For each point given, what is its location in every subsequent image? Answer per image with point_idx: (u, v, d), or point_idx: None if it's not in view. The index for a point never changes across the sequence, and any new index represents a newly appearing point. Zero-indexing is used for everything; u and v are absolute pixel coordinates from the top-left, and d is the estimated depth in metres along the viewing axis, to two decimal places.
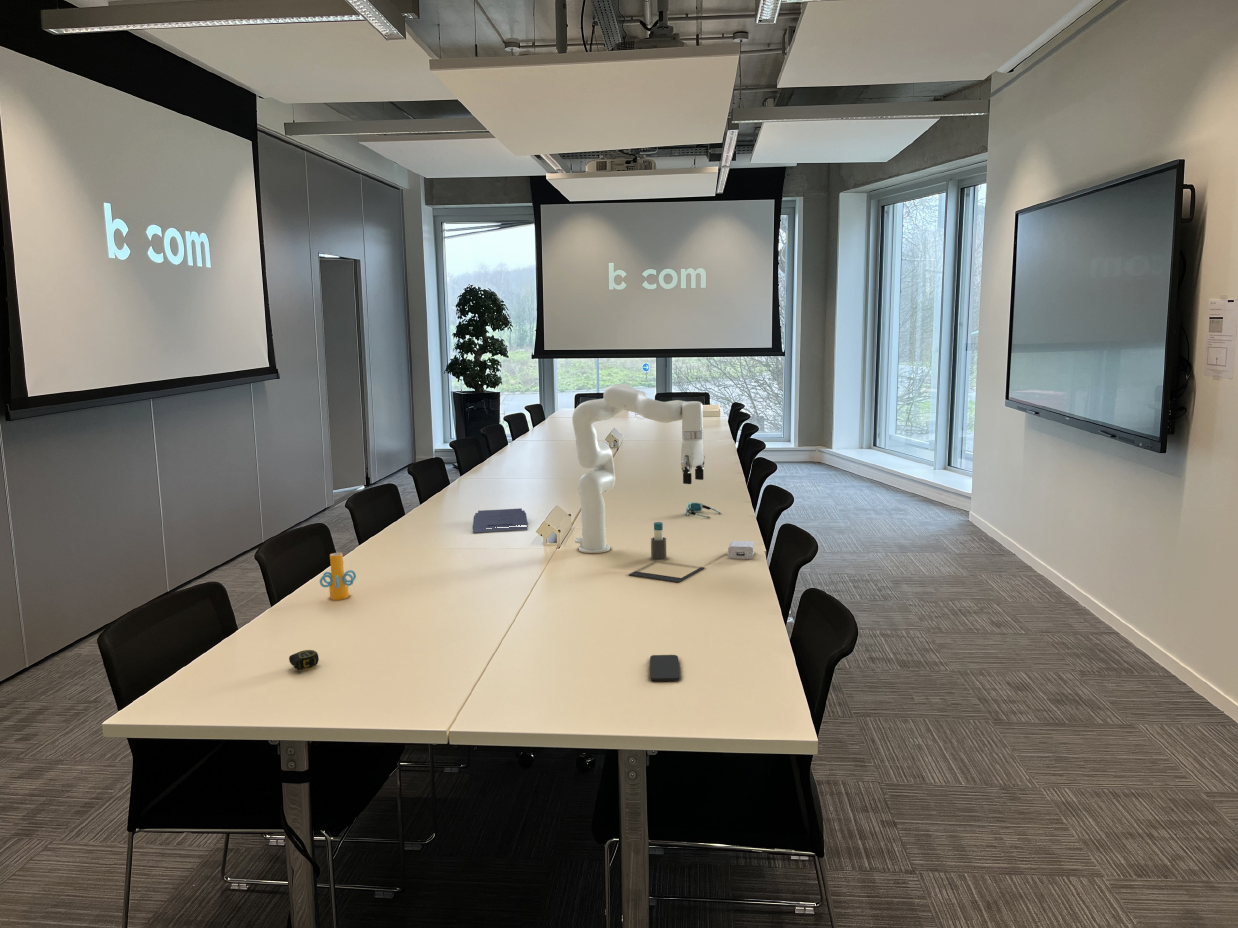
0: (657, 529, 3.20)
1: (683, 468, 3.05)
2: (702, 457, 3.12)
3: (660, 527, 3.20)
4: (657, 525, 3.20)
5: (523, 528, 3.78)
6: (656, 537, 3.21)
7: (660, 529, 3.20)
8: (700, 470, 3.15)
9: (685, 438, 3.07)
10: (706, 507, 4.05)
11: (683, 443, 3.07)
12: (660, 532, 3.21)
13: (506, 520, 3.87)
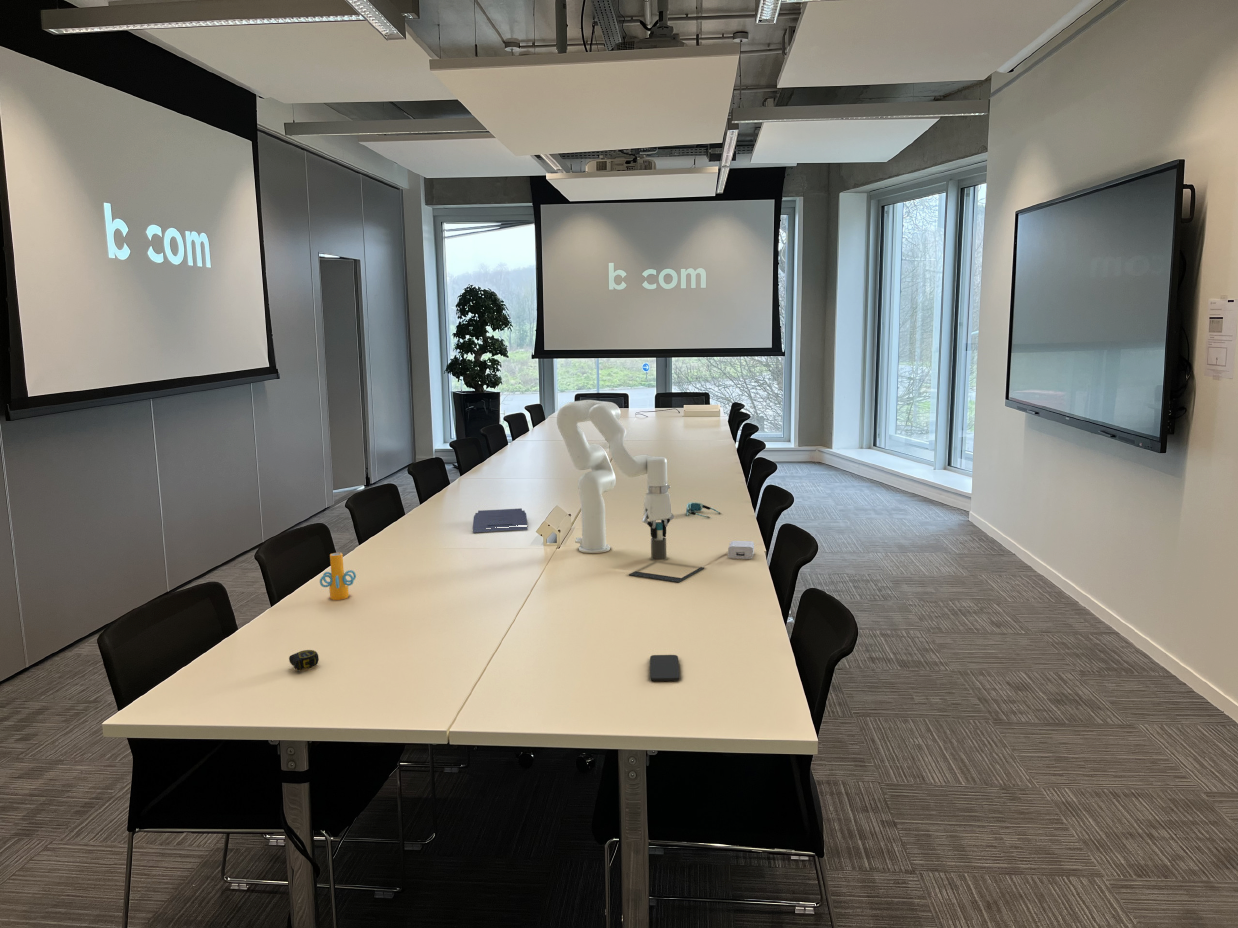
0: (657, 529, 3.20)
1: None
2: (668, 511, 3.20)
3: (660, 527, 3.20)
4: (657, 525, 3.20)
5: (523, 528, 3.78)
6: None
7: (660, 529, 3.20)
8: (663, 527, 3.22)
9: None
10: (706, 507, 4.05)
11: (645, 496, 3.19)
12: (660, 532, 3.21)
13: (507, 520, 3.87)
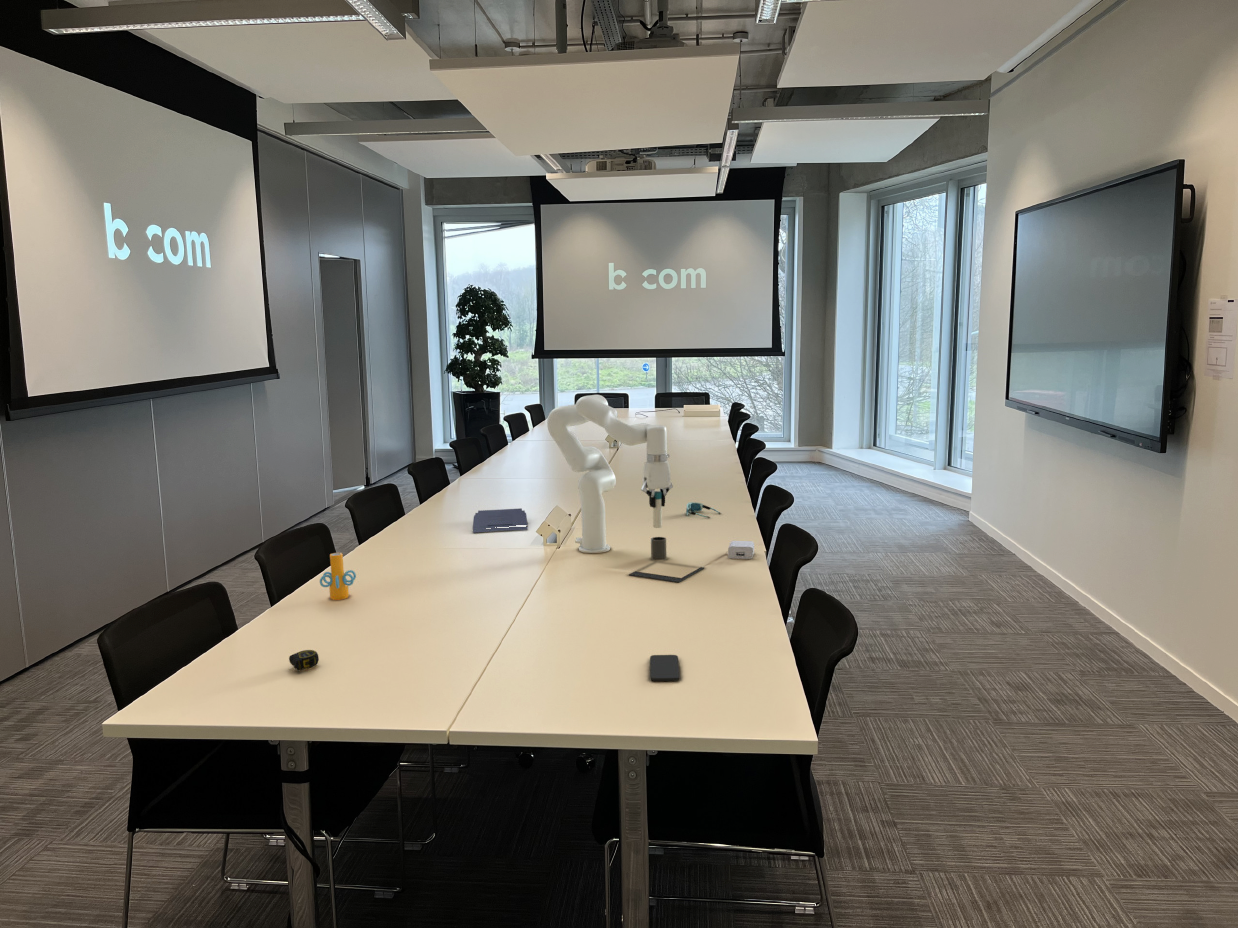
0: (656, 498, 3.18)
1: None
2: (667, 480, 3.19)
3: (659, 496, 3.18)
4: (656, 494, 3.18)
5: (523, 528, 3.78)
6: None
7: (659, 498, 3.19)
8: None
9: (647, 460, 3.17)
10: (706, 507, 4.05)
11: (644, 465, 3.17)
12: (659, 501, 3.19)
13: (507, 520, 3.87)
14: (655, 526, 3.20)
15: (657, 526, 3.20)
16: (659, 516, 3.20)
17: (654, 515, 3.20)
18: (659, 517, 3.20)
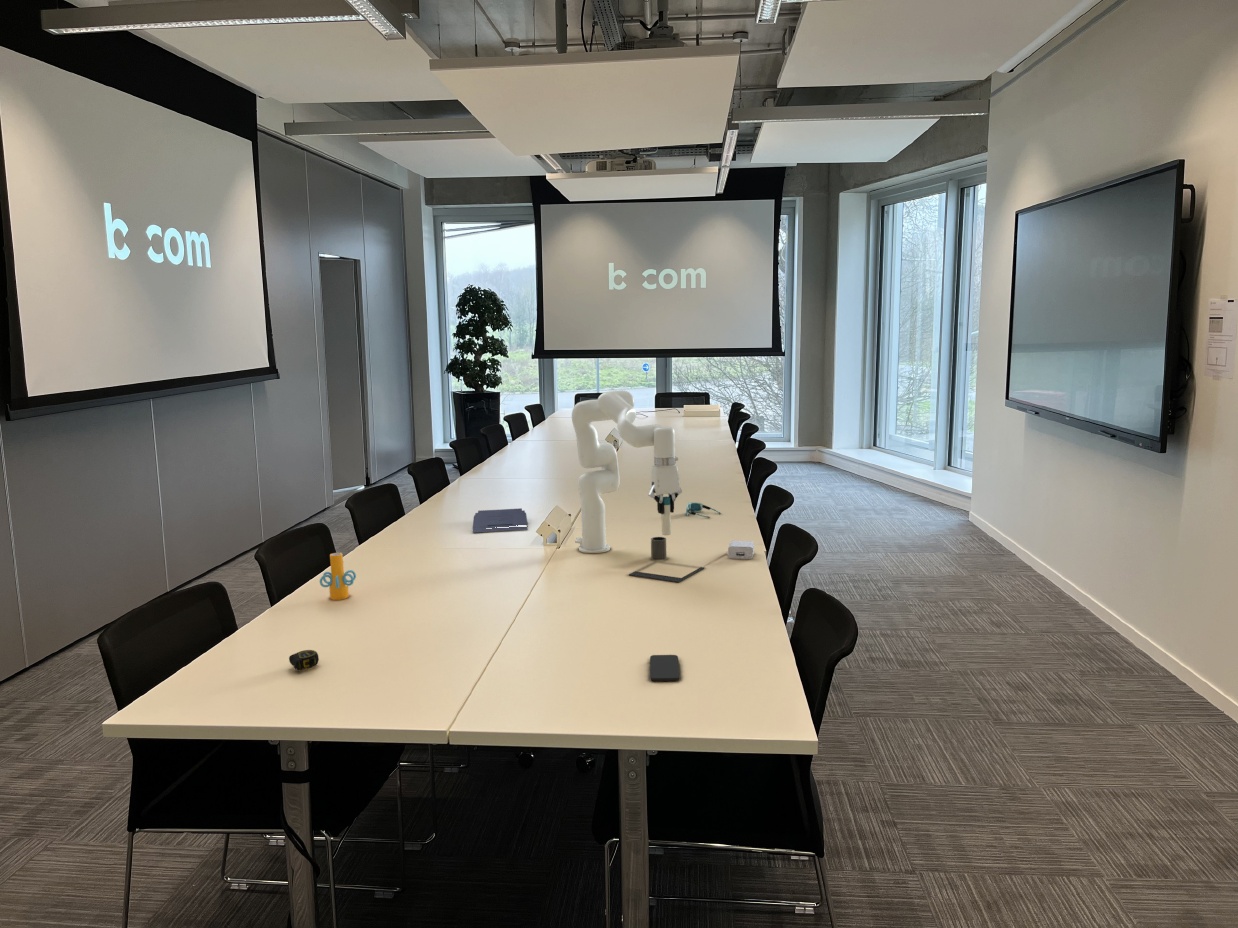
0: (664, 504, 3.01)
1: (653, 497, 3.00)
2: (676, 485, 3.01)
3: (667, 501, 3.01)
4: (664, 499, 3.01)
5: (523, 528, 3.78)
6: None
7: (668, 504, 3.01)
8: (670, 502, 3.03)
9: (654, 464, 3.00)
10: (706, 507, 4.05)
11: None
12: (668, 507, 3.01)
13: (507, 520, 3.87)
14: (664, 533, 3.03)
15: (666, 533, 3.03)
16: (668, 523, 3.02)
17: (663, 522, 3.02)
18: (668, 524, 3.02)
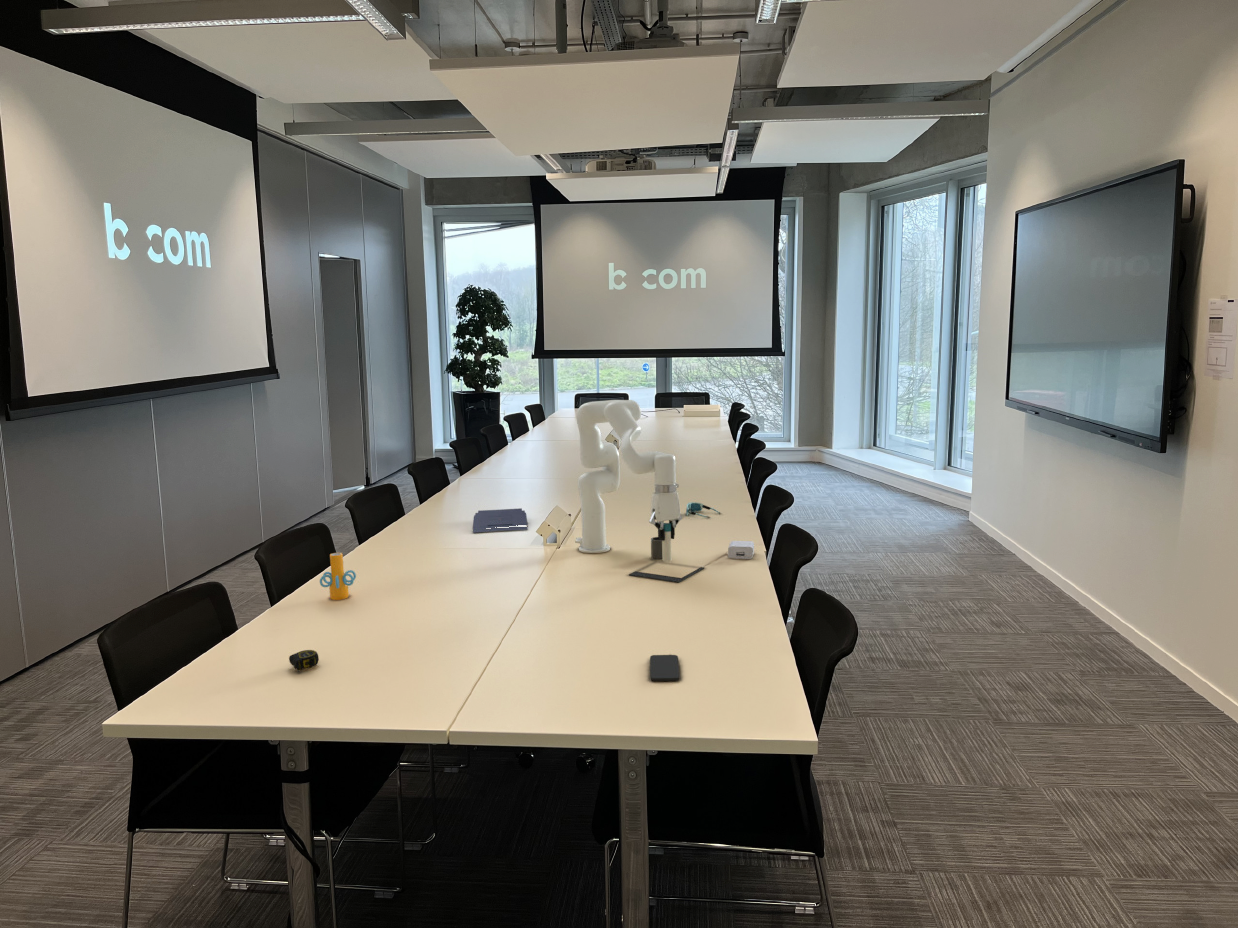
0: (665, 530, 3.02)
1: None
2: (677, 511, 3.02)
3: (668, 528, 3.02)
4: (665, 526, 3.02)
5: (523, 528, 3.78)
6: None
7: (668, 530, 3.02)
8: (671, 529, 3.04)
9: (655, 491, 3.01)
10: (706, 507, 4.05)
11: (652, 496, 3.01)
12: (668, 534, 3.02)
13: (507, 520, 3.87)
14: (664, 560, 3.04)
15: (667, 560, 3.04)
16: (669, 549, 3.03)
17: (663, 548, 3.04)
18: (669, 550, 3.03)
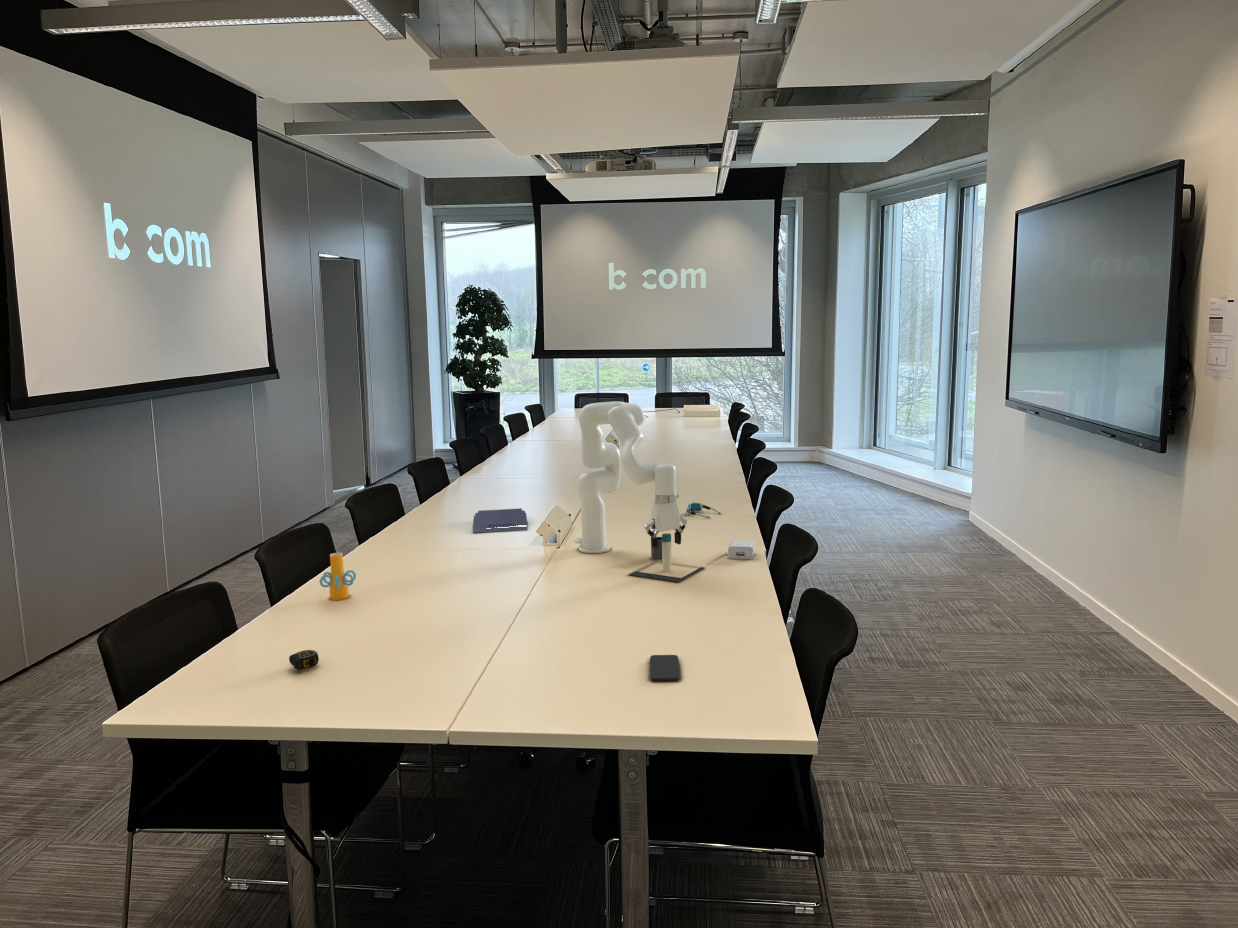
0: (665, 541, 3.03)
1: (647, 531, 3.00)
2: (677, 521, 3.03)
3: (668, 539, 3.03)
4: (665, 537, 3.02)
5: (523, 528, 3.78)
6: (664, 549, 3.03)
7: (668, 541, 3.03)
8: (677, 534, 3.06)
9: (655, 501, 3.01)
10: (706, 507, 4.05)
11: (652, 506, 3.02)
12: (668, 544, 3.03)
13: (507, 520, 3.87)
14: (665, 570, 3.05)
15: (667, 570, 3.04)
16: (669, 560, 3.04)
17: (663, 559, 3.04)
18: (669, 561, 3.04)
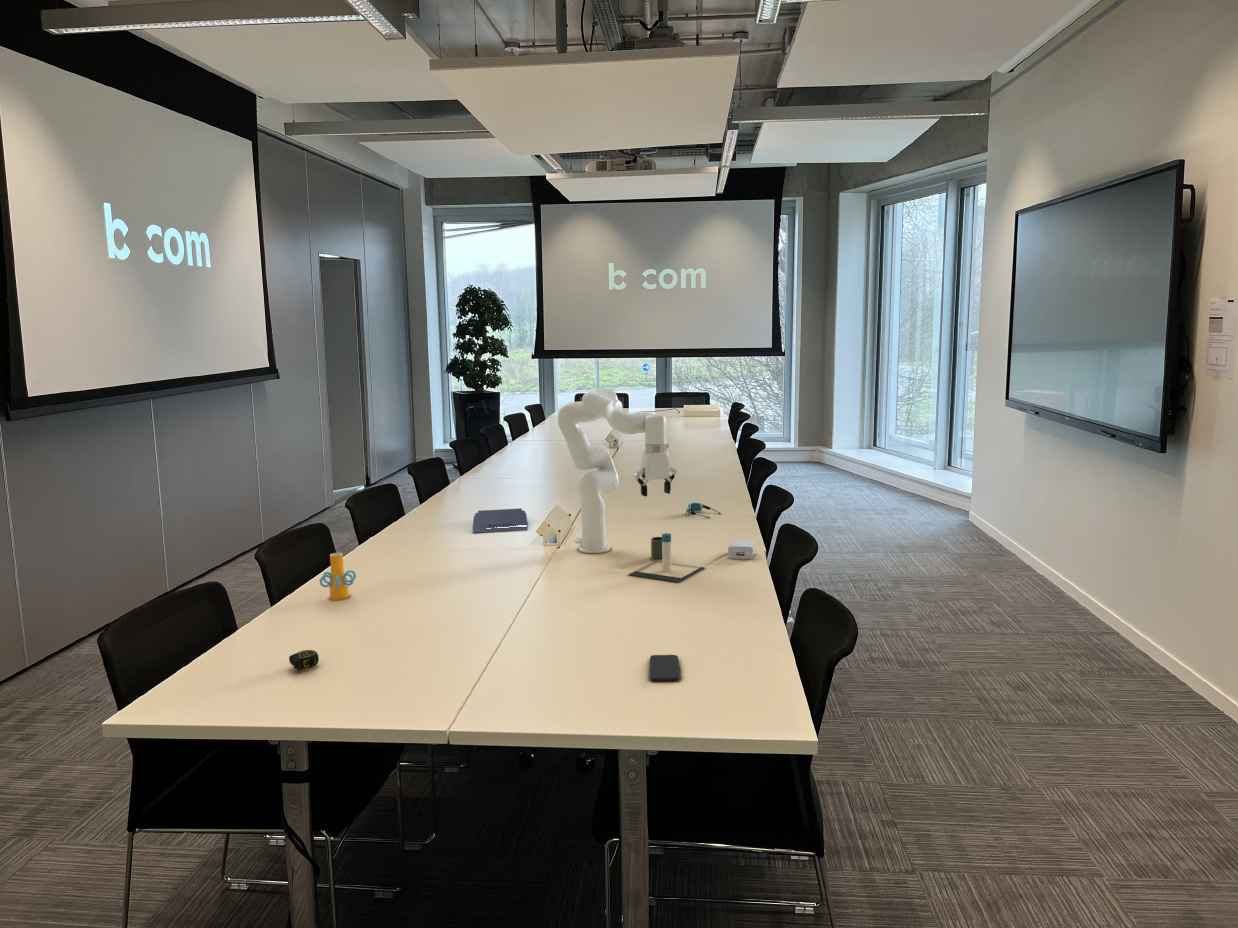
0: (665, 541, 3.03)
1: (637, 480, 3.07)
2: (666, 471, 3.10)
3: (668, 539, 3.03)
4: (665, 537, 3.02)
5: (523, 528, 3.78)
6: (664, 549, 3.03)
7: (668, 541, 3.03)
8: (667, 484, 3.13)
9: (645, 450, 3.09)
10: (706, 507, 4.05)
11: None
12: (668, 544, 3.03)
13: (507, 520, 3.87)
14: (665, 570, 3.05)
15: (667, 570, 3.04)
16: (669, 560, 3.04)
17: (663, 559, 3.04)
18: (669, 561, 3.04)
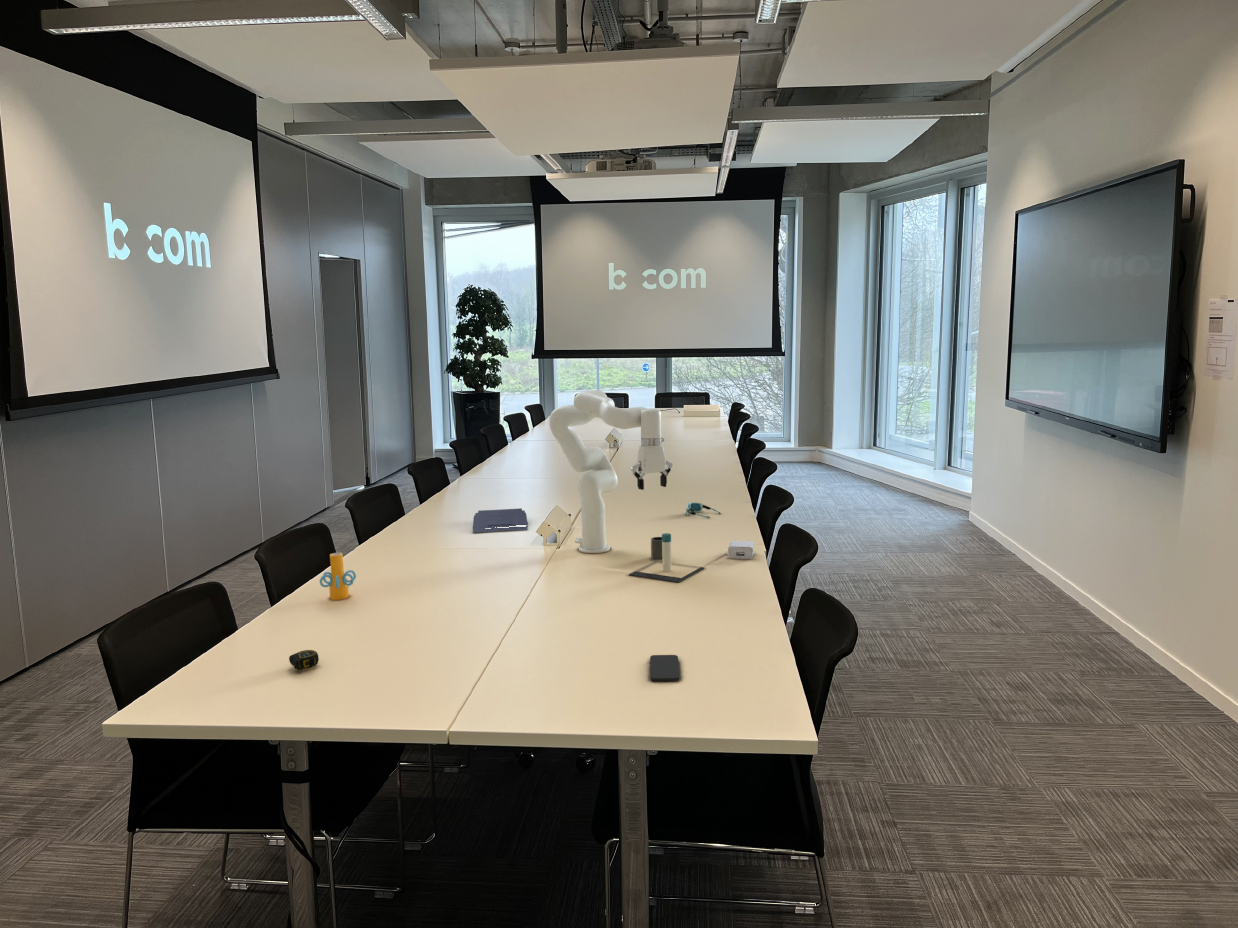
0: (665, 541, 3.03)
1: (633, 473, 3.11)
2: (662, 464, 3.14)
3: (668, 539, 3.03)
4: (665, 537, 3.02)
5: (523, 528, 3.78)
6: (664, 549, 3.03)
7: (668, 541, 3.03)
8: (663, 477, 3.17)
9: (641, 444, 3.13)
10: (706, 507, 4.05)
11: None
12: (668, 544, 3.03)
13: (507, 520, 3.87)
14: (665, 570, 3.05)
15: (667, 570, 3.04)
16: (669, 560, 3.04)
17: (663, 559, 3.04)
18: (669, 561, 3.04)
